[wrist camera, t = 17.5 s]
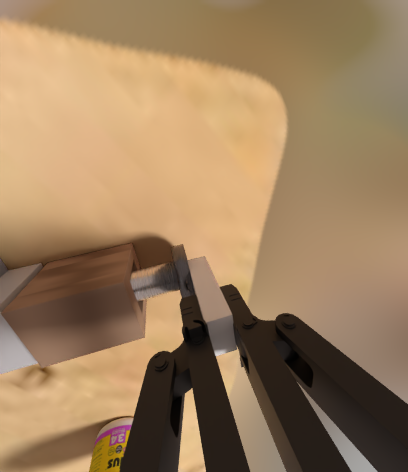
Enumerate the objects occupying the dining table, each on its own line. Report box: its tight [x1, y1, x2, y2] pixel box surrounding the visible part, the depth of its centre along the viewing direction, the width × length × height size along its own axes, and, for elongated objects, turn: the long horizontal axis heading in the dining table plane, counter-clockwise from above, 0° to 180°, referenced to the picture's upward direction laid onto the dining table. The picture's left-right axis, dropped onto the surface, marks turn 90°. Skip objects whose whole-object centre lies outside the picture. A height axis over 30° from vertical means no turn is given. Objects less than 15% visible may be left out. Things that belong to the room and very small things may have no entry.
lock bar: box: [130, 244, 195, 301], centre depth 16 cm, size 12×5×5 cm, turn 99°
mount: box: [0, 243, 147, 368], centre depth 16 cm, size 7×5×6 cm
